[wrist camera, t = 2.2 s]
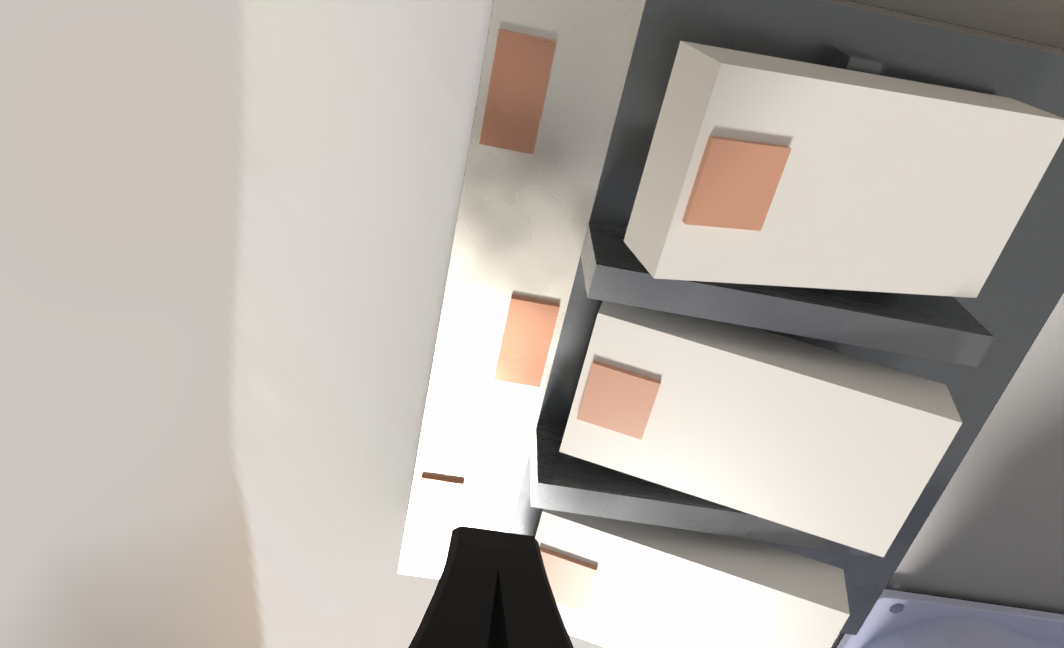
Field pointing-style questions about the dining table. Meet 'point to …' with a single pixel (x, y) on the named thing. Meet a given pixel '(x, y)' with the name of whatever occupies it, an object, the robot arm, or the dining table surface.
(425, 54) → the dining table surface
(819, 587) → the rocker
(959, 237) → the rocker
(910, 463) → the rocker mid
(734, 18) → the switch panel
